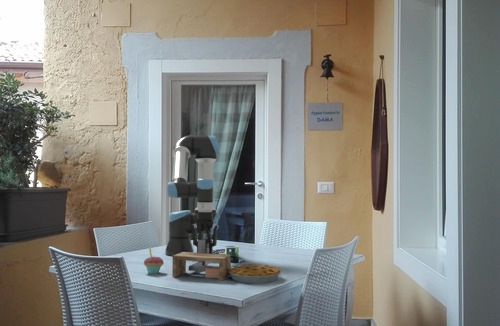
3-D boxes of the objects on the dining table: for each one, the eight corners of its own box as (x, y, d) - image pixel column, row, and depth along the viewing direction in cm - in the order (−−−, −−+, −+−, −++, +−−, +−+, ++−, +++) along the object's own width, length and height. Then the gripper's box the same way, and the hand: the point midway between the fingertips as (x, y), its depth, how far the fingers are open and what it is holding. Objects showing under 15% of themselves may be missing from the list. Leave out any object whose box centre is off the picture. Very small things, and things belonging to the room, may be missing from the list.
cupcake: (144, 275, 229) (144, 247, 229) (143, 271, 238) (143, 244, 238) (164, 274, 232) (164, 246, 232) (162, 270, 240) (162, 243, 240)
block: (208, 275, 231) (208, 265, 231) (222, 275, 230) (222, 266, 230) (205, 277, 225) (205, 268, 225) (219, 278, 224) (219, 268, 224)
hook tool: (204, 262, 254) (204, 237, 255) (221, 263, 252) (221, 238, 252) (187, 270, 234) (187, 243, 234) (205, 271, 232) (205, 244, 232)
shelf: (182, 272, 236) (182, 251, 236) (230, 275, 230) (230, 254, 230) (172, 276, 226) (172, 255, 226) (222, 280, 219) (222, 258, 219)
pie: (251, 271, 239) (251, 260, 239) (291, 278, 225) (291, 266, 225) (218, 279, 222) (218, 267, 222) (259, 287, 208) (259, 274, 208)
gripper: (185, 211, 249) (185, 261, 249) (219, 212, 245) (218, 263, 244) (191, 210, 256) (191, 258, 256) (224, 211, 252) (223, 260, 252)
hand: (204, 260), depth 250 cm, fingers closed on hook tool, 3 cm apart
